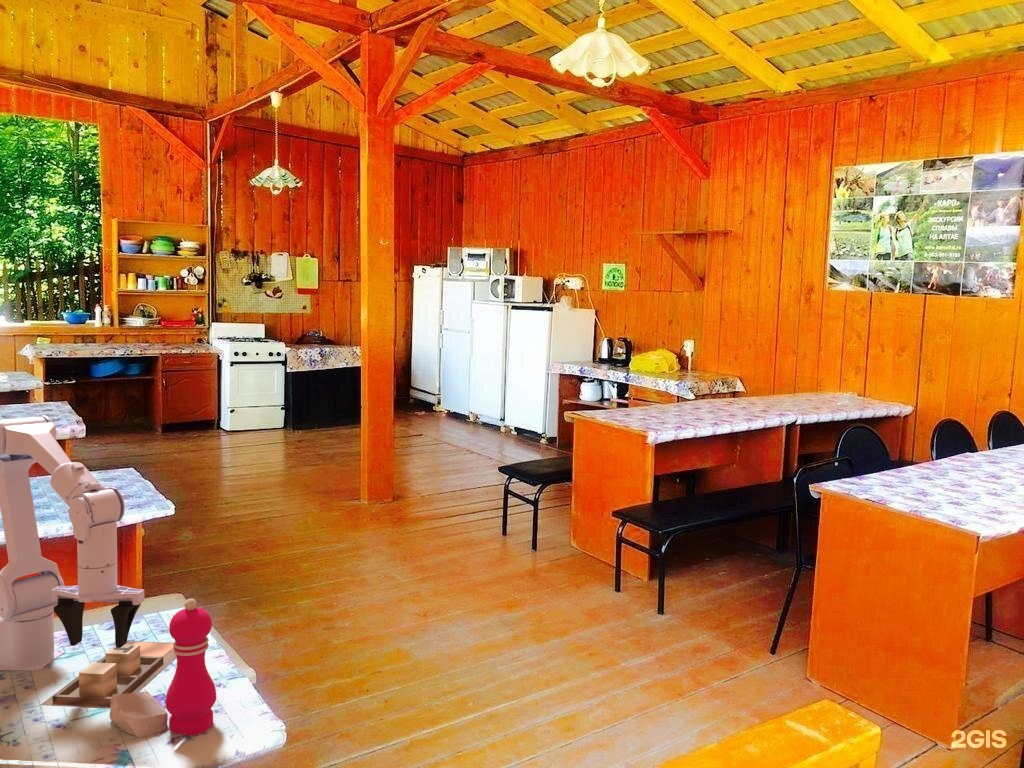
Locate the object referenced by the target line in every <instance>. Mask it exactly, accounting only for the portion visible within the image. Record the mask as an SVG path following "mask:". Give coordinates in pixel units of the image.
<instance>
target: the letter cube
mask: <svg viewBox="0 0 1024 768" xmlns="http://www.w3.org/2000/svg"><path fill="white" fill-rule="evenodd" d="M104 656H105V663H117V675H131V674H132V673H133V672H135V671H136V670H137V669H138V668H139V667H140V645H135V644H125V645H124V646H122V647H121V648H116V645H114V646H113V647H112V648H110V649H109V650H108V651H107V652H105V653H104Z"/></svg>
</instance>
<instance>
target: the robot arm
mask: <svg viewBox="0 0 1024 768" xmlns="http://www.w3.org/2000/svg"><path fill="white" fill-rule="evenodd" d="M35 463H38V464H39V465H40V466H41V467H42V468H43V469H44V470H46V472H47V473H49V474H50V475H51V477H50V480H49V482H50V486H51V488H52V489H53V490H54V491H55V492H56V494H57V495H58V496H59V497H60V498H61V499H62V501H64V503H65V504H66V505H67V506H68V508H67V509H68V516H69V520H70V523H71V524H72V525H71V526H72V535H73V537H74V539H76V542H77V543H76V544H77V545H76V546H77V547H76V548H77V552H76V553H77V585H65V582H64V580H63V578H62V576H61V573H60V570H59V567H58V566H59V565H58V563H56V562H54V561H53V560H50V559H47V558H45V557H44V556H42V550H41V549H42V548H41V543H40V538H39V537H40V536H39V530H38V524H37V519H36V512H35V505H34V499H33V494H32V487H31V481H30V474H29V470H30V469H31V467H32V466H33V465H34V464H35ZM0 514H1V521H2V527H3V534H4V539H5V545H6V554H7V560H8V562H7V564H6V565H5V566H4V567H2V569H0V671H3V672H5V671H7V670H10V671H11V670H14V671H30V672H31V671H33V672H34V671H36V672H37V671H40V670H42V669H43V668H44V667H46V666H48V664H50V663H52V662H53V661H55V660H56V659H58V658H59V657H61V656H63V655H64V654H65V653H66V651H65V650H58V649H57V650H55V632H54V631H55V630H54V629H55V627H54V624H55V623H54V622H55V621H54V614H55V615H56V616H57V617H58V618H59V621H60V622H61V624H62V625H63V627H64V630H65V632H66V634H67V637H68V642H69V645H70V647H71V646H72V647H74V646H77V645H78V644H79V643H81V642H82V639H83V636H84V633H83V631H84V630H83V628H84V627H83V619H84V610H85V605H86V603H91V602H92V603H93V602H95V603H96V602H99V603H114V604H115V603H118V604H117V605H115V606H114V607H112V608H111V609H110V613H111V616H112V617H111V618H112V620H113V624H114V643H115V646H116V648H121V647H122V646H124V645H125V644H126V643H127V641H128V638H129V633H130V630H131V626H132V623H133V621H134V619H135V616H136V614H137V612H138V610H139V609H140V607H141V605H142V603H143V602H145V589H142V588H141V589H139V588H133V587H128V586H123V585H118V526H117V525H118V522H120V521H122V520H123V518H124V515H125V500H124V498H123V495H122V493H121V492H120V491H119V489H118V488H117V487H114V486H113V487H112V486H108V485H102V483H100V482H99V480H98V479H97V478H96V477H95V476H94V475H93V474H92V473H91V471H89V469H88V468H87V467H86V466H85V465H84V464H83V463H82V462H79V461H78V462H77V461H73V462H72V461H71V459H70V458H69V457H68V455H67V454H66V452H65V451H64V450H63V448H62V447H61V445H60V444H59V442H58V441H57V430H56V425H55V423H54V422H53V420H51V419H50V417H49V416H47V415H44V414H43V415H39V416H31V417H19V418H8V419H7V418H6V419H5V418H4V419H0ZM33 574H37V575H33ZM29 575H32V576H29ZM25 576H29V577H25ZM22 577H24V578H22ZM19 578H20V579H19Z"/></svg>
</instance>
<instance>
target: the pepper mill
mask: <svg viewBox="0 0 1024 768" xmlns="http://www.w3.org/2000/svg"><path fill="white" fill-rule="evenodd" d="M197 606H198V603H197V600H196V599H194V598H188V599H187V600H185V602H184V606H183V607H184V608H182V609H181V610H179V611H177V612H176V613H175V614H174V615H173V616H172V618H171V619H170V622H169V625H168V630H169V635H170V636H171V638H172V639H173V640H174V641H173V642H172V643H173V646H174V648H173V652H174V653H175V654H176V656H177V658H176V669H175V673H174V675H173V678H172V680H171V681H170V682H171V683H170V684H169V687H168V688H167V692H166V696H165V703H164V704H165V710H167V711H168V712H167V713H169V714H170V716H169V717H168V718H169V719H168V728H169V730H170V732H172V733H173V734H176V735H177V734H178V735H183V737H193V736H197V735H200V734H203V733H205V732H207V731H208V730H209V729H211V728H212V726H213V725H214V710H213V709H212V708H213V706H214V705H215V703H216V701H217V689H216V685H215V683H214V681H213V679H212V677H211V675H210V673H209V671H208V669H207V665H206V651H207V650H208V649H209V637H208V635H209V634H210V632H211V631H212V629H213V628H212V627H213V621H212V617H211V615H210V613H209V612H208V611H207V610H206V609H204V608H201V607H197Z"/></svg>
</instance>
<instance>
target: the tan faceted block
mask: <svg viewBox="0 0 1024 768" xmlns="http://www.w3.org/2000/svg"><path fill="white" fill-rule="evenodd" d="M110 707H111V708H109V709H110V710H109V719H110V721H111V723H112V724H113V725H115V726H118V728H120V729H121V730H123V731H124V732H127V734H130V735H133V736H134V737H137V738H142V737H145V736H148V735H151V734H153V733H156V732H159V731H160V730H163V729H164V728H166V727H167V725H168V721H169V719H168V718H169V717H168V712H167V711H166V710H167V709H166V708H164V707H163V705H161V704H160V702H159V701H158V699H156V698H155V697H153V696H152V694H150V693H149V691H147V690H146V691H139V692H134V693H127V694H113V695H112V697H111V704H110Z"/></svg>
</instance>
